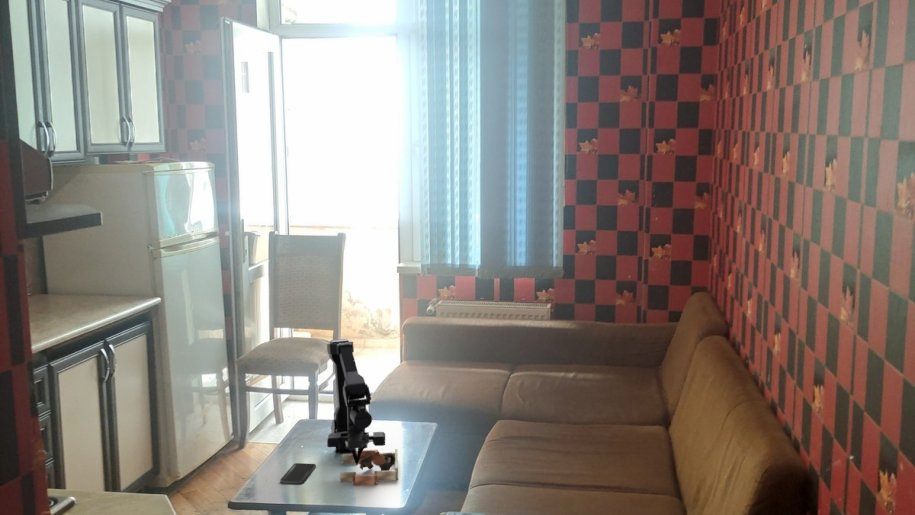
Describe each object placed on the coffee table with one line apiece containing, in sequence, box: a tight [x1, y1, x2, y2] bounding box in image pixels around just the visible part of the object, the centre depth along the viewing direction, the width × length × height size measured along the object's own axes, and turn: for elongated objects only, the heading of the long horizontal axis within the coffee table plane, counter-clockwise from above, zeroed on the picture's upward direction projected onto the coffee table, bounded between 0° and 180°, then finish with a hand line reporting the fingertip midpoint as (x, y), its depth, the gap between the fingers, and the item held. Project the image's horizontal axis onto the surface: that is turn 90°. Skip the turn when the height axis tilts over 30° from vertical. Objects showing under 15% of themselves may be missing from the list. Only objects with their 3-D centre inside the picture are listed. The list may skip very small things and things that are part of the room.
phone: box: [279, 462, 317, 485], centre depth 270 cm, size 8×1×15 cm
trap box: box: [339, 448, 399, 487], centre depth 272 cm, size 18×22×4 cm
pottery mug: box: [358, 451, 395, 471], centre depth 270 cm, size 12×10×8 cm
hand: (357, 464), depth 272 cm, fingers closed
